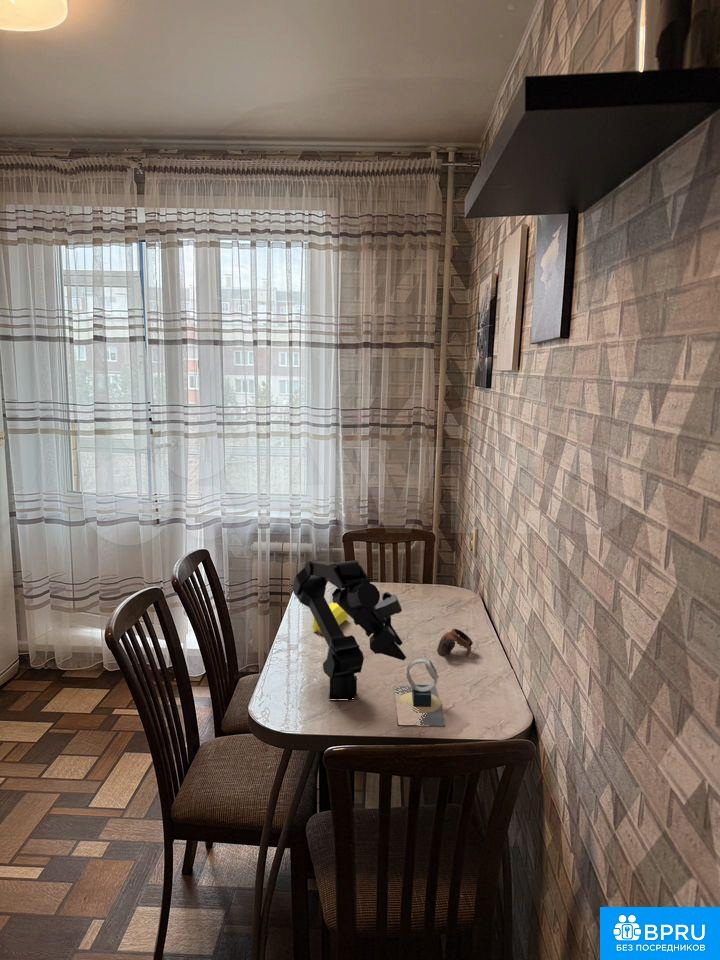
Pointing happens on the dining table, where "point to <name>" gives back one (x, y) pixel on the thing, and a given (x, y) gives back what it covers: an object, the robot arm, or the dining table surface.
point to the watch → (422, 692)
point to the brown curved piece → (449, 642)
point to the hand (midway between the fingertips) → (403, 651)
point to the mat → (433, 712)
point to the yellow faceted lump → (337, 613)
